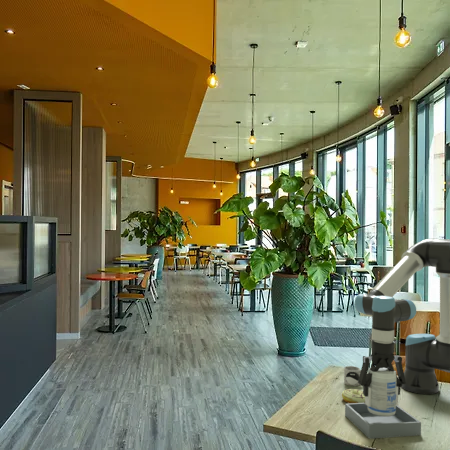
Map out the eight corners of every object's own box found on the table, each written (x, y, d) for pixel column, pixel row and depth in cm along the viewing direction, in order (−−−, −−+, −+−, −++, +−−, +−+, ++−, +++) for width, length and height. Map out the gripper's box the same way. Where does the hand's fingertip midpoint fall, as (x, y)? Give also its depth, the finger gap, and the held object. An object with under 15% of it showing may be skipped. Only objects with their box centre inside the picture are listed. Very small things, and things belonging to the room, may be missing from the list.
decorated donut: (364, 409, 179) (365, 399, 179) (337, 402, 185) (338, 392, 185) (373, 400, 187) (373, 391, 187) (347, 394, 194) (347, 385, 194)
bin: (391, 412, 175) (392, 401, 175) (420, 435, 157) (421, 422, 157) (345, 415, 172) (345, 403, 172) (369, 438, 154) (369, 425, 154)
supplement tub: (393, 420, 158) (394, 376, 158) (364, 414, 162) (365, 371, 162) (397, 410, 166) (398, 368, 166) (370, 404, 171) (371, 364, 171)
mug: (345, 385, 204) (345, 370, 204) (343, 380, 210) (343, 365, 210) (368, 387, 203) (369, 371, 203) (366, 381, 209) (366, 367, 209)
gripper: (405, 337, 170) (404, 399, 170) (348, 338, 166) (347, 401, 166) (417, 342, 162) (416, 407, 163) (358, 344, 159) (356, 410, 159)
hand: (381, 404), depth 164 cm, fingers closed on supplement tub, 9 cm apart
